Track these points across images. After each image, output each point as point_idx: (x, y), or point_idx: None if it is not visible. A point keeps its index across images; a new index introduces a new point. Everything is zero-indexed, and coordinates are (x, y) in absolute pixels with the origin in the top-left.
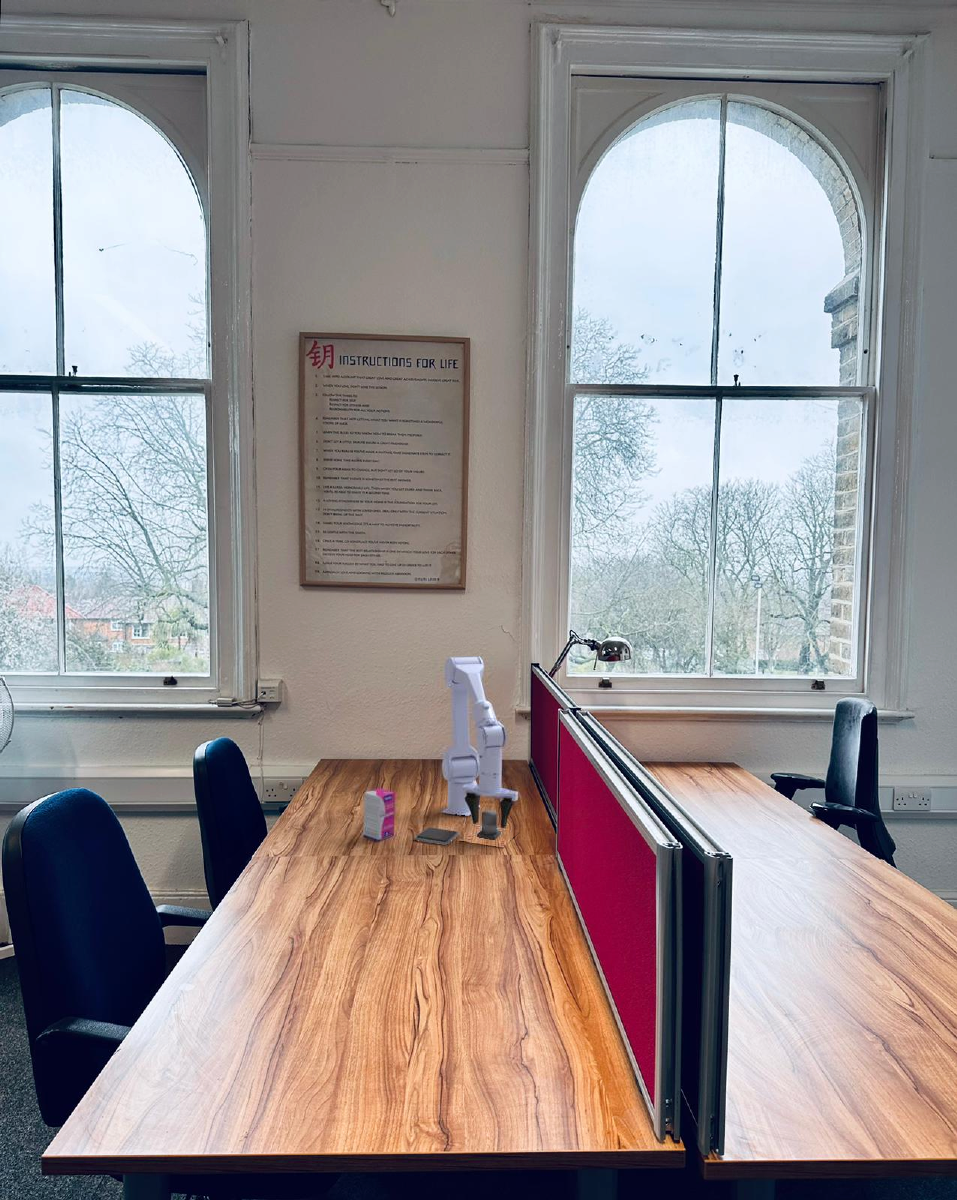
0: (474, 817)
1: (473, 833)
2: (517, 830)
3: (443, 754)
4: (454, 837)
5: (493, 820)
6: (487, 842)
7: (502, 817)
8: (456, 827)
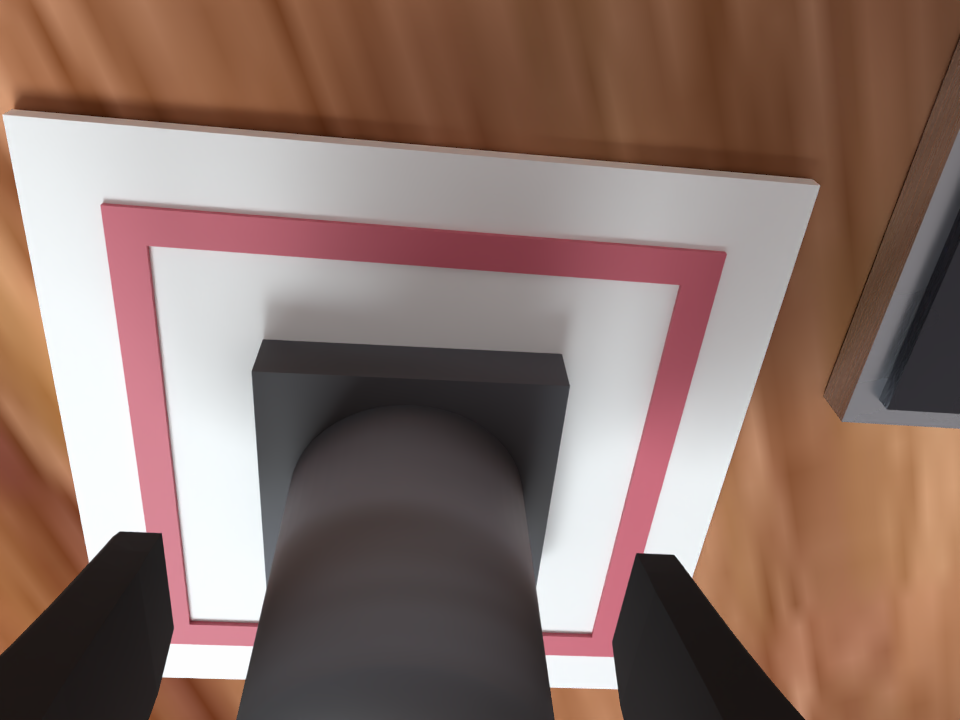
0: (680, 630)
1: (639, 475)
2: (174, 713)
3: None
4: (899, 246)
5: (279, 614)
6: (337, 225)
7: (29, 676)
8: (882, 601)
